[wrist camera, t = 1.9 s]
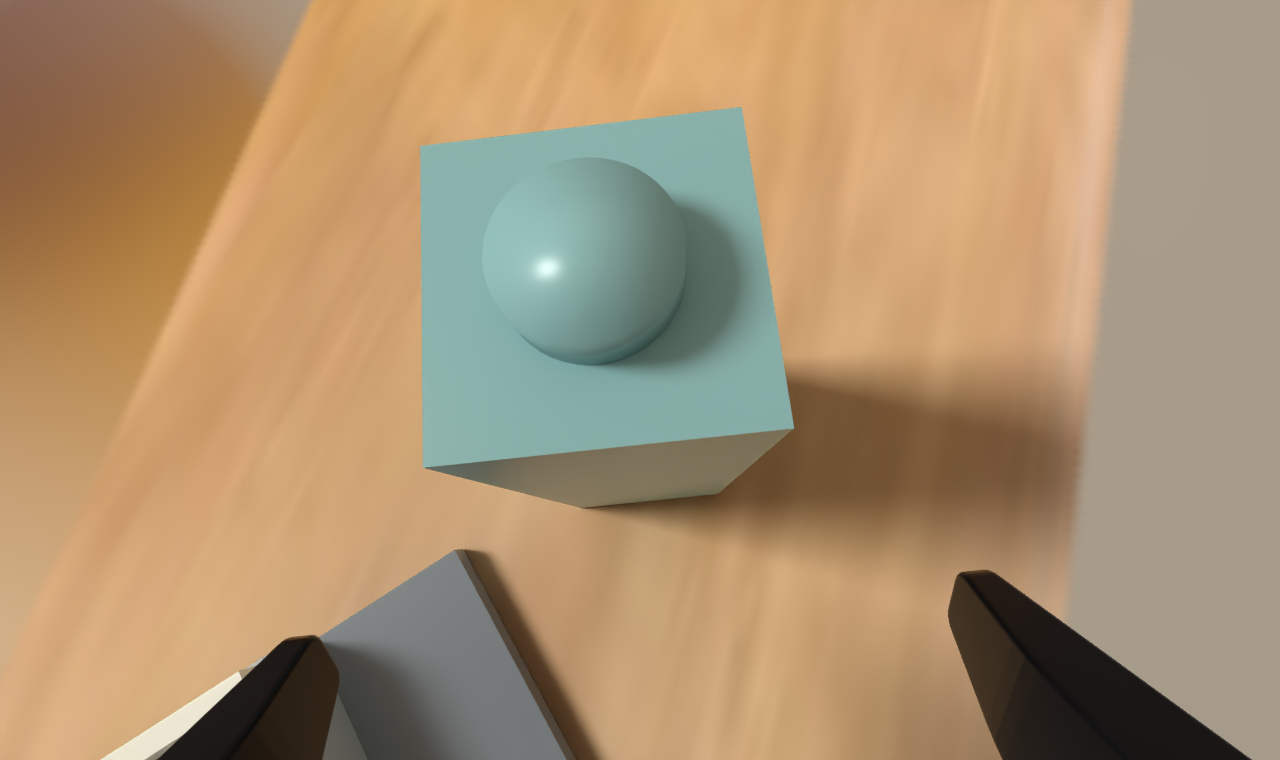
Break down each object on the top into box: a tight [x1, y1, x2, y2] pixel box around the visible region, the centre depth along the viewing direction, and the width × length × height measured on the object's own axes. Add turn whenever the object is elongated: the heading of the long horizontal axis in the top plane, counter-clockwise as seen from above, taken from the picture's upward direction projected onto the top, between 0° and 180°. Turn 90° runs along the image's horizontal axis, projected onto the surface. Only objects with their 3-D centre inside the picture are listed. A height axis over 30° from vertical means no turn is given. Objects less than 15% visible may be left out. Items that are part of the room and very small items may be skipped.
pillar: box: [420, 107, 794, 508], centre depth 14 cm, size 4×4×14 cm
